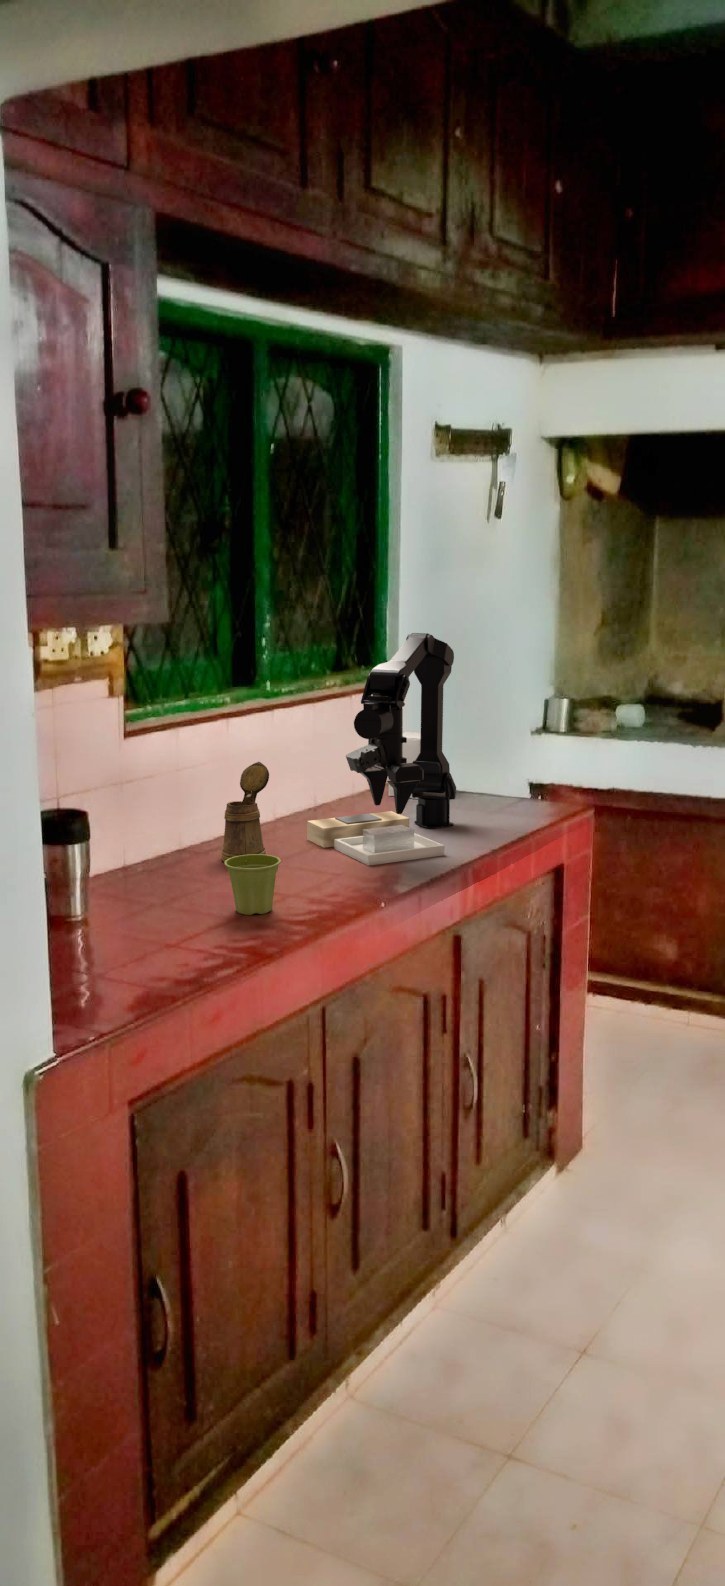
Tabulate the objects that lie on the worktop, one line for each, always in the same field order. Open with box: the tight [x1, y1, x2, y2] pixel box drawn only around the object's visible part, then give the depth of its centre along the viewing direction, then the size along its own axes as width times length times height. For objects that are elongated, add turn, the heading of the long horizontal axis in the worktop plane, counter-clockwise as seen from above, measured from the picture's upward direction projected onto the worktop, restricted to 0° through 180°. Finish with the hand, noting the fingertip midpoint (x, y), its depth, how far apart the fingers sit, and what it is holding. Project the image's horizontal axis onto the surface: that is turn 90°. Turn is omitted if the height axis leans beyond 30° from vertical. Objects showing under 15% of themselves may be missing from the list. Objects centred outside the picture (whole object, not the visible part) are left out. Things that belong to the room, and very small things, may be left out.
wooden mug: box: [221, 761, 270, 863], centre depth 246 cm, size 9×14×18 cm, turn 161°
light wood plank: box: [306, 810, 410, 849], centre depth 261 cm, size 20×8×4 cm, turn 117°
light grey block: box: [363, 825, 415, 854], centre depth 249 cm, size 9×5×4 cm, turn 117°
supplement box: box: [388, 731, 421, 800], centre depth 304 cm, size 9×9×15 cm
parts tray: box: [333, 832, 445, 866], centre depth 250 cm, size 17×15×2 cm
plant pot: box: [224, 854, 282, 916], centre depth 210 cm, size 9×9×9 cm
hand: (388, 809), depth 248 cm, fingers open, 9 cm apart
